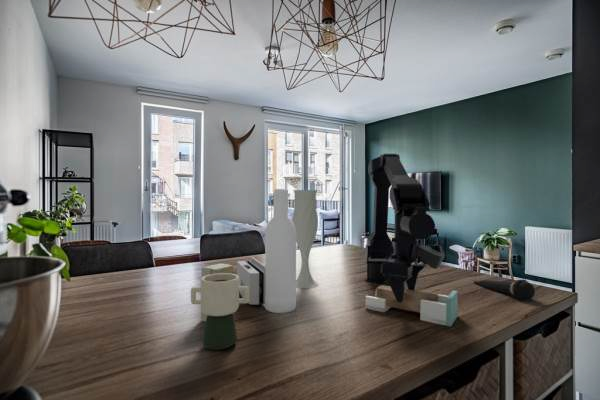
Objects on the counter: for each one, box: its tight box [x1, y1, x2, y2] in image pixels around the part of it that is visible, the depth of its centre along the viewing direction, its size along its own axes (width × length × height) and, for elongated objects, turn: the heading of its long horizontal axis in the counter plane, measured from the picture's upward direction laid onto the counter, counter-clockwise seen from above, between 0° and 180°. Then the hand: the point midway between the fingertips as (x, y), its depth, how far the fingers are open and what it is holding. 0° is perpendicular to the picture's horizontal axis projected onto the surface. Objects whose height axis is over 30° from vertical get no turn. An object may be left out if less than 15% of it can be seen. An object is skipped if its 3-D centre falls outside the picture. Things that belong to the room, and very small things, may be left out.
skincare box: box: [200, 262, 234, 323], centre depth 78 cm, size 6×4×12 cm
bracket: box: [236, 256, 265, 306], centre depth 93 cm, size 17×5×10 cm, turn 22°
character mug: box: [190, 273, 249, 351], centre depth 64 cm, size 11×7×13 cm, turn 94°
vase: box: [292, 189, 319, 289], centre depth 107 cm, size 9×8×30 cm
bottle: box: [264, 188, 297, 314], centre depth 85 cm, size 8×8×30 cm
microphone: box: [473, 279, 536, 301], centre depth 100 cm, size 6×6×20 cm
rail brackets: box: [364, 290, 459, 327], centre depth 82 cm, size 20×8×6 cm, turn 55°
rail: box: [375, 284, 439, 313], centre depth 83 cm, size 14×4×4 cm, turn 55°
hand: (405, 297), depth 83 cm, fingers open, 9 cm apart
